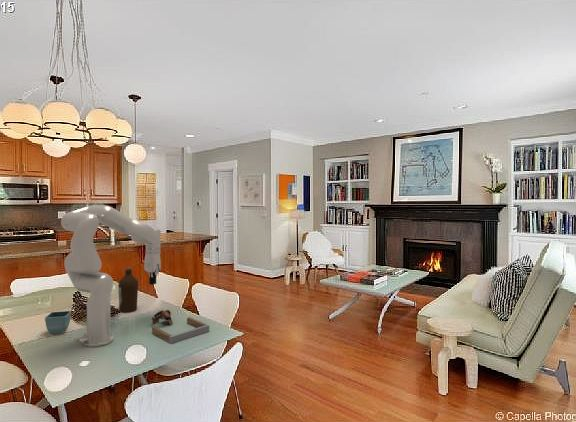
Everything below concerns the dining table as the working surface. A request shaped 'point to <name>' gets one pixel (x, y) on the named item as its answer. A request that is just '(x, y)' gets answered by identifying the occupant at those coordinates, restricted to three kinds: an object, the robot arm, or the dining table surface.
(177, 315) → the dining table surface
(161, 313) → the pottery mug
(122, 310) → the olive oil
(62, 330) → the flower pot
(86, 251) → the robot arm
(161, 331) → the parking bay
